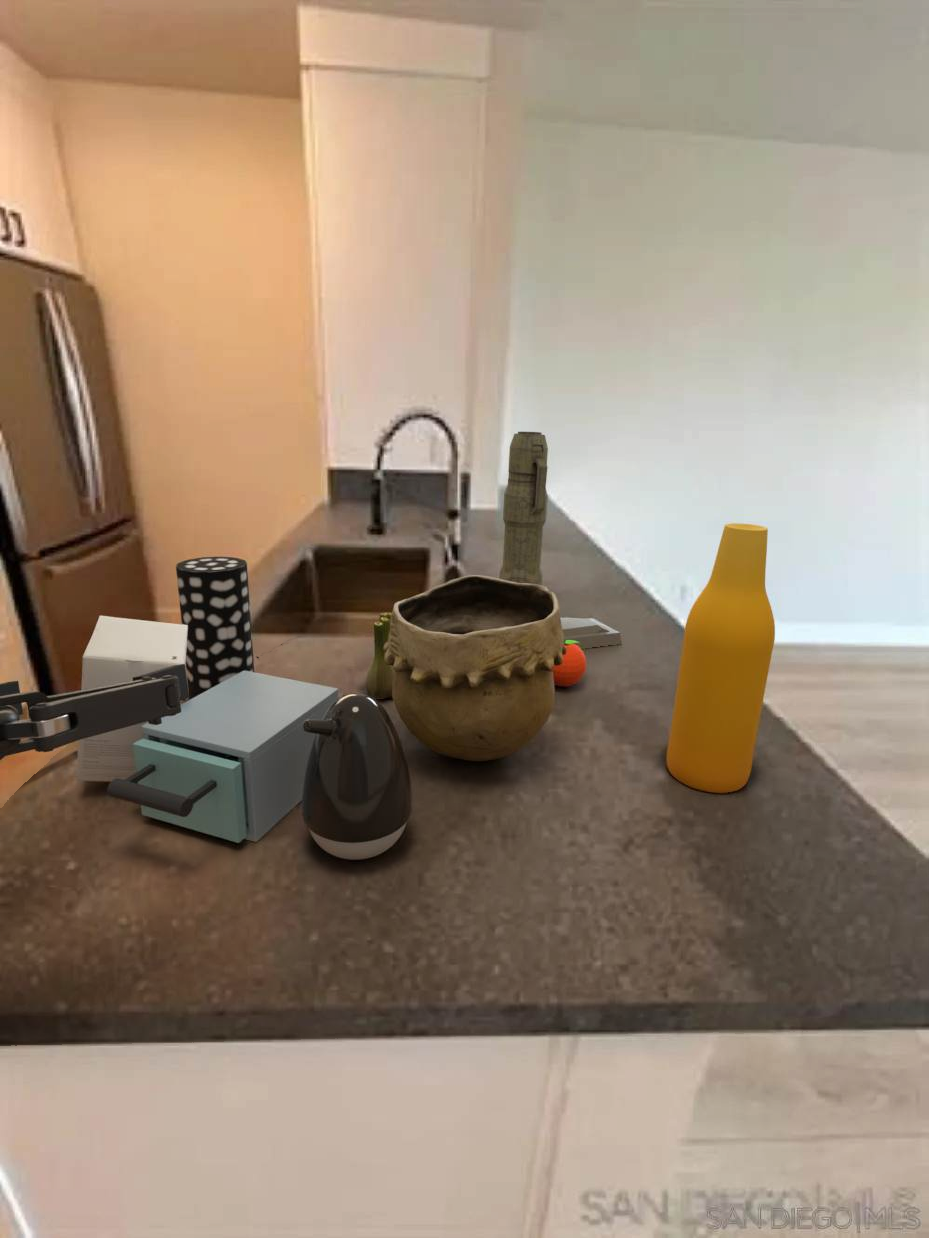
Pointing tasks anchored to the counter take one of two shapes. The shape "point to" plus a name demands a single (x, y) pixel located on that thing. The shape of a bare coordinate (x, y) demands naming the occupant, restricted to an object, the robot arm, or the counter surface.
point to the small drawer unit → (255, 736)
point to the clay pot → (475, 665)
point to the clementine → (570, 665)
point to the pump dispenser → (356, 780)
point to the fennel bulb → (380, 662)
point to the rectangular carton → (116, 660)
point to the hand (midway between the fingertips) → (99, 689)
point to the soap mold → (589, 632)
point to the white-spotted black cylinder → (215, 620)
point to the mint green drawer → (187, 787)
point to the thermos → (525, 508)
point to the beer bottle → (724, 668)
